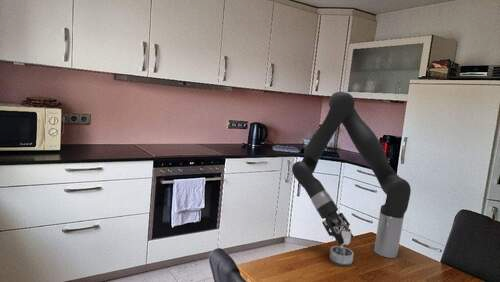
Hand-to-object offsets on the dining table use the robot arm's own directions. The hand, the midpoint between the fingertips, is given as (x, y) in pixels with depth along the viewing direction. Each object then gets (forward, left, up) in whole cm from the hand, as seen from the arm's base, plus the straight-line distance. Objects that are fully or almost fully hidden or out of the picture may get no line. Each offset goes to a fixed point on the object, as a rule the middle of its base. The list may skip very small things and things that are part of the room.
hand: (346, 241), depth 131 cm
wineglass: (0, -2, -8) cm, 8 cm away
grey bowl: (0, -1, -9) cm, 9 cm away
